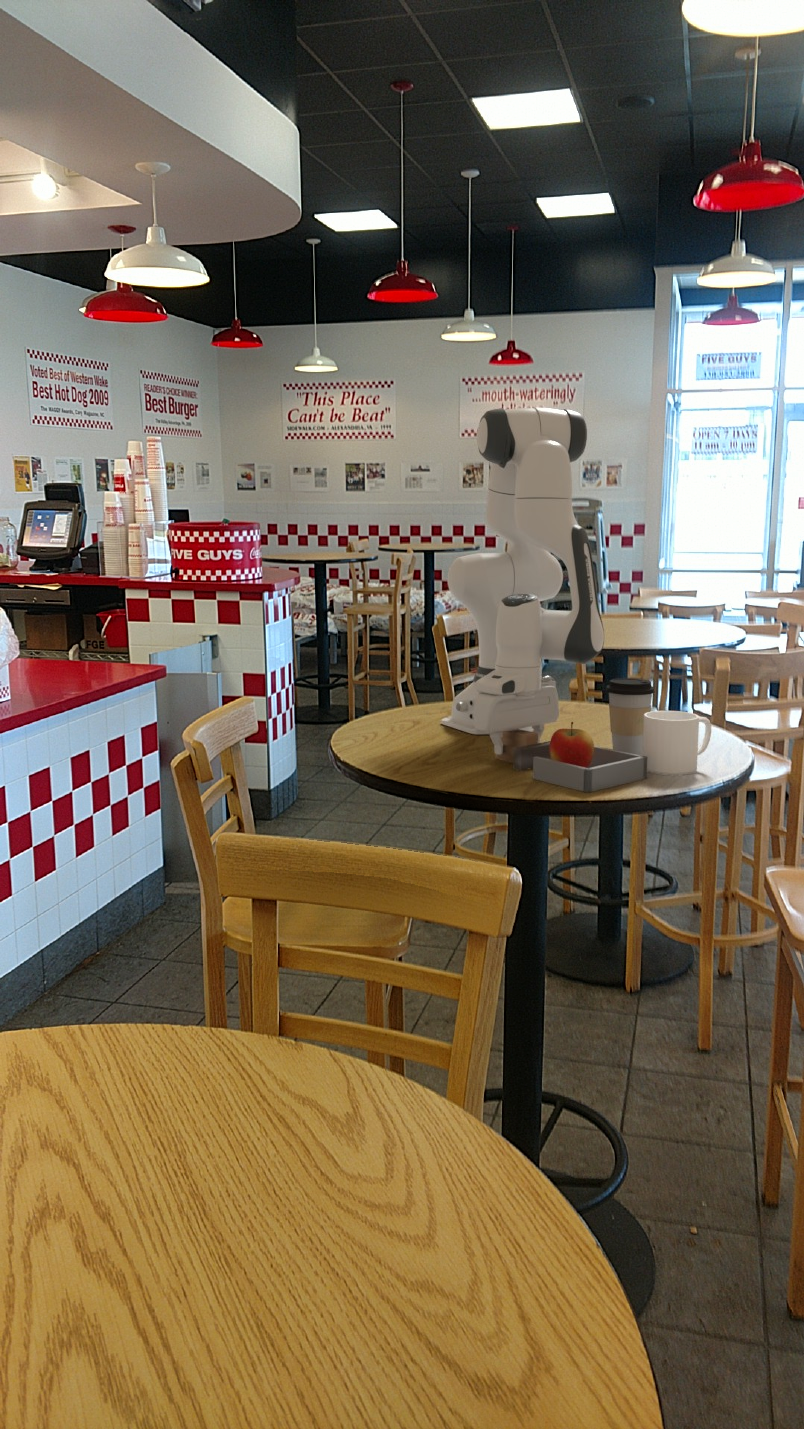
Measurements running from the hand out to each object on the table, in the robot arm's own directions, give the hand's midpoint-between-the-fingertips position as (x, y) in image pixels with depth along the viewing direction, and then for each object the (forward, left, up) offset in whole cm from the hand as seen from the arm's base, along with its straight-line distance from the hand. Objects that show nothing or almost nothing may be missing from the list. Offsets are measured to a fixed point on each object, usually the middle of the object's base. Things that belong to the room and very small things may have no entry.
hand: (517, 750), depth 207 cm
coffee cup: (+11, +20, -2) cm, 23 cm away
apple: (+14, 0, -2) cm, 14 cm away
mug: (+24, +18, -2) cm, 30 cm away
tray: (+19, 0, -2) cm, 19 cm away
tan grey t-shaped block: (0, 0, -2) cm, 2 cm away
